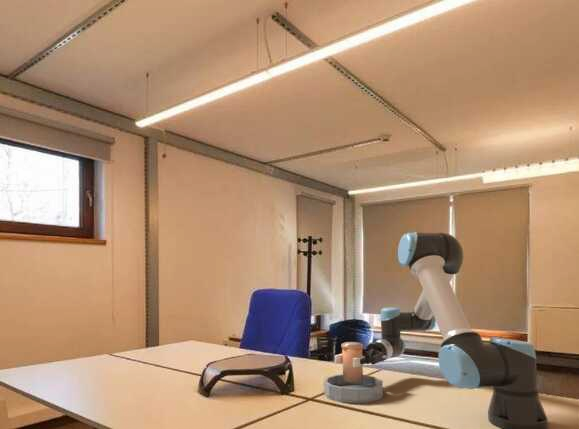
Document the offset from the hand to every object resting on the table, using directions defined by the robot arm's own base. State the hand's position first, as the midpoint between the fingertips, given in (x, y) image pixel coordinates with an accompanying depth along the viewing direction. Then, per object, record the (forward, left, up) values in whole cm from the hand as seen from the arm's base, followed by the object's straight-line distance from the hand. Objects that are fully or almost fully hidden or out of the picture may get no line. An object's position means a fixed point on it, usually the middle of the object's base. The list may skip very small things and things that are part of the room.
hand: (344, 361), depth 147 cm
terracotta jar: (+4, -2, -7) cm, 9 cm away
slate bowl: (+4, -2, -12) cm, 13 cm away
